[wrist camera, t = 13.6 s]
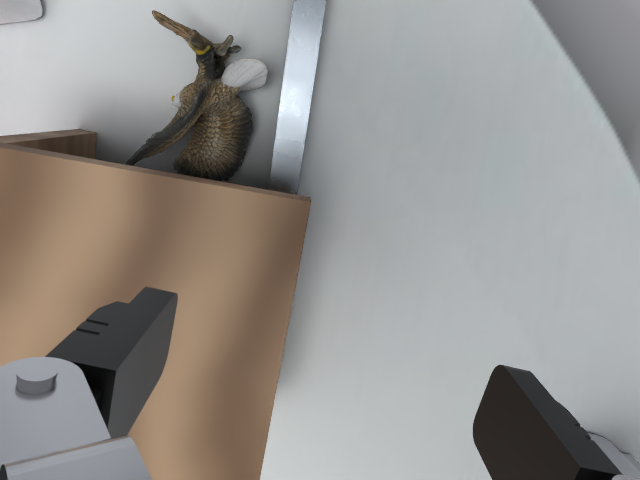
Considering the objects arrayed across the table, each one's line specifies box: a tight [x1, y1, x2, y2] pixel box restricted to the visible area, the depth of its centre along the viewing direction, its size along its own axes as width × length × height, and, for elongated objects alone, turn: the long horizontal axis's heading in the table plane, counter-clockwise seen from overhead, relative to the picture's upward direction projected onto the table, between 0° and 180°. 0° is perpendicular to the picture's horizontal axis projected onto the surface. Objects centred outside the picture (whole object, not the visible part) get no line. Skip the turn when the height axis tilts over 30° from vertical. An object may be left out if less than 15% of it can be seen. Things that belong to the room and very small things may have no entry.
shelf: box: [0, 129, 311, 480], centre depth 28 cm, size 15×17×11 cm
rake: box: [268, 0, 326, 195], centre depth 27 cm, size 12×22×6 cm, turn 171°
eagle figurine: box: [125, 10, 268, 181], centre depth 28 cm, size 8×7×9 cm
